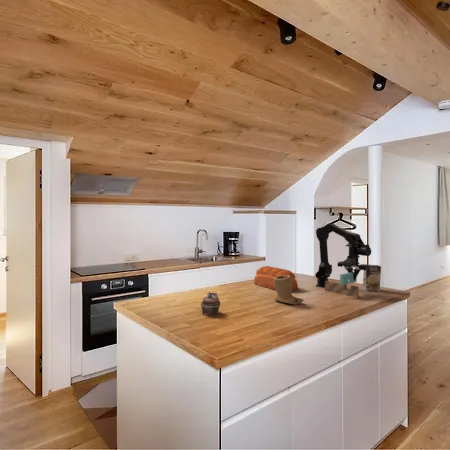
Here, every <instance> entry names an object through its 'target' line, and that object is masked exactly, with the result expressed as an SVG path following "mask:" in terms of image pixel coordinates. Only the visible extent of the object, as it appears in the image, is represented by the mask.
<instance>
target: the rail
mask: <svg viewBox="0 0 450 450" xmlns="http://www.w3.org/2000/svg"><path fill="white" fill-rule="evenodd" d="M324 291H325V292H330V293H335V294H340V295H345V296H349V297H353V298H354V297H355V298H359V286H357V285H350V287H349V289H348V284H346V285H340V282H335V281H330V280H328V281H325V287H324Z"/></svg>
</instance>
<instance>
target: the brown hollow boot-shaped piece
mask: <svg viewBox="0 0 450 450" xmlns="http://www.w3.org/2000/svg"><path fill="white" fill-rule="evenodd" d="M274 285H275V288H276V290H275V291H276V294H277V295H276V296H275V297H274V298H273V300H275V301H278V302H281V303H285V304H289V305H295V306H296V305H299V304H301V303H303V302H304V299H303V298H301V297H298V296H297V297H296V296H293V294H292V292H293V291H292V278H291V277H290V276H289V275H287V276H284V275H281V276H277V277H275V278H274Z"/></svg>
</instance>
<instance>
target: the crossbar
mask: <svg viewBox="0 0 450 450" xmlns="http://www.w3.org/2000/svg"><path fill="white" fill-rule="evenodd" d="M357 281H358V279H357V278H356V280H354V271H353V272H350V273H348V272H345V273H342V274H339V283H340V285H346V284H347V285H348V284H353V283H357Z"/></svg>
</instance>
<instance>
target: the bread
mask: <svg viewBox="0 0 450 450" xmlns="http://www.w3.org/2000/svg"><path fill="white" fill-rule="evenodd" d="M281 275H284V276H287V275H289V276H290V277H291V278H292V292H294V291H297V290H298V289H299V286H298V282H297V281H298V280H297V279H296V275H295V273H293V272H292V271H291V270H289V269H285V268H280V267H273V266H270V265H266V266H265V265H264V266H263V265H262V266H261V267H259V268H258V269H257V270H256V272H255V276H254V279H253V284H254V285H257V286H259V287H263V288H267V289H271V290H275V291H276V288H275V285H274V278H275V277H277V276H281Z"/></svg>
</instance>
